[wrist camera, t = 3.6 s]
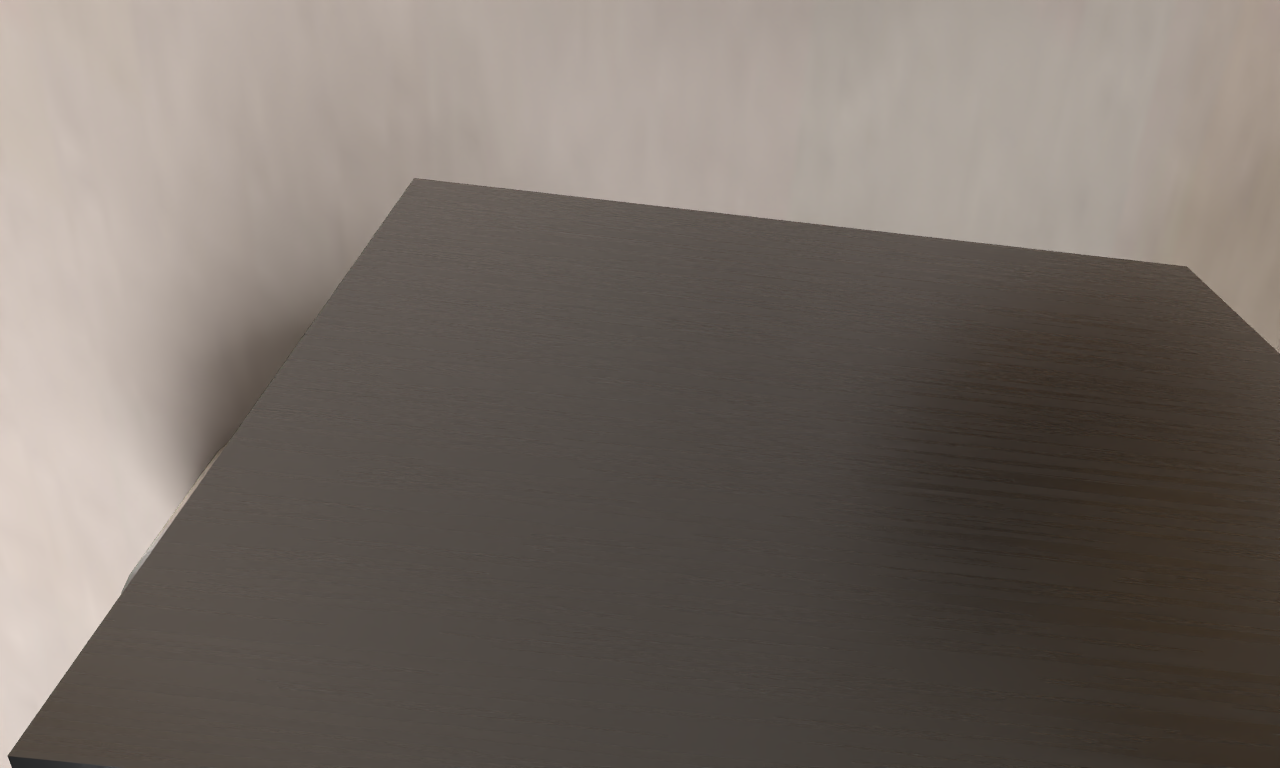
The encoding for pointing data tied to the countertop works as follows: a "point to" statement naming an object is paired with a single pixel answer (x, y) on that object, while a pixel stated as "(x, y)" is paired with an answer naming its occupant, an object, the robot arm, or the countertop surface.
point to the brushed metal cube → (714, 513)
